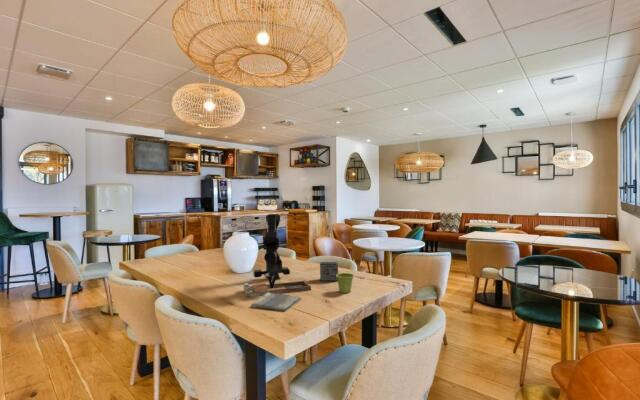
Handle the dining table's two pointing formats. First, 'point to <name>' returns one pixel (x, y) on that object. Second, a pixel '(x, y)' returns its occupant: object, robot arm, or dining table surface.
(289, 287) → the channel
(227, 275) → the dining table surface
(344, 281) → the plant pot
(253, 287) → the block
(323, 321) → the dining table surface
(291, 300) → the dish towel
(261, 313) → the dining table surface
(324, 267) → the small box
